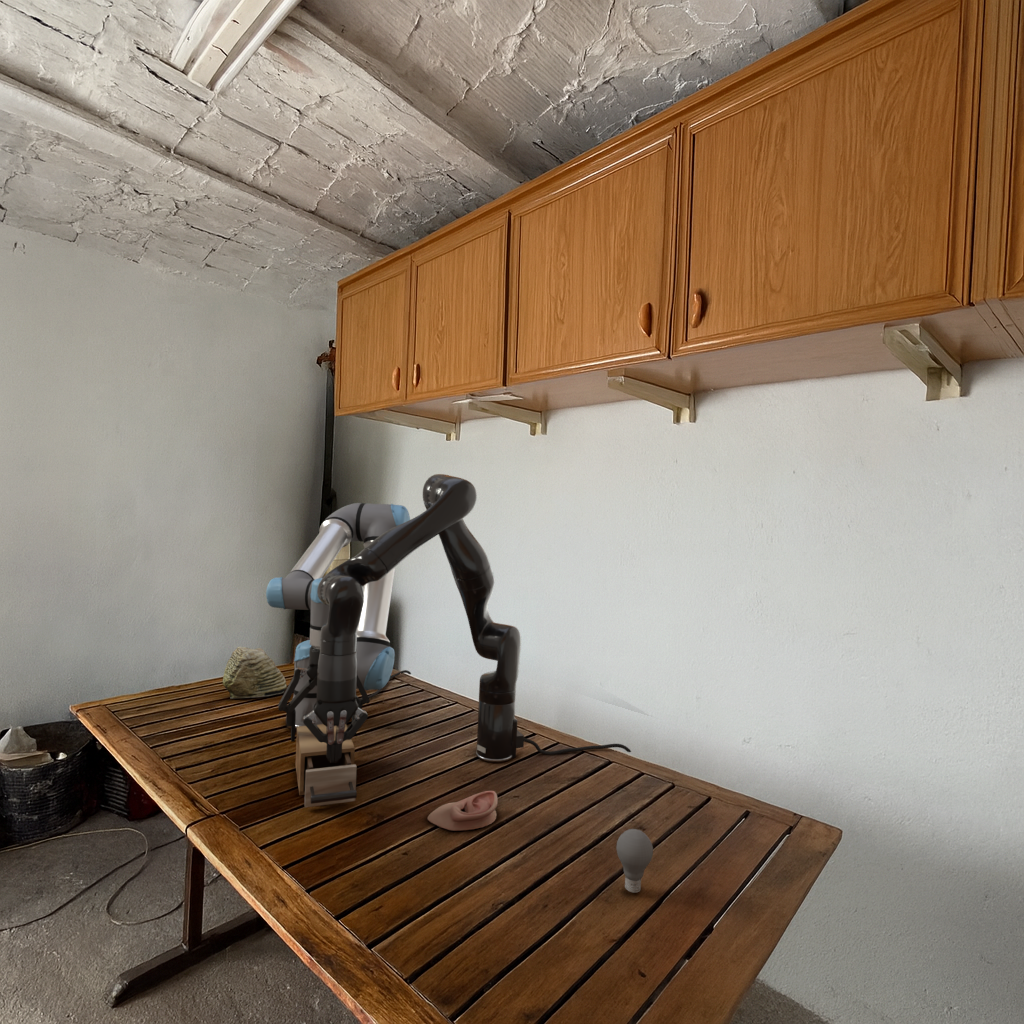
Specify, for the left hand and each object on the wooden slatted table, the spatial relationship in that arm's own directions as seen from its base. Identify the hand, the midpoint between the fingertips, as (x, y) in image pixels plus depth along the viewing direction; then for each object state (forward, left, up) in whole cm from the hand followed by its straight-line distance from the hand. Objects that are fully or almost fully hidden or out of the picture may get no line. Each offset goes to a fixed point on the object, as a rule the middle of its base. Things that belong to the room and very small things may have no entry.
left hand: (323, 736), depth 147 cm
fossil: (-17, -61, -8) cm, 63 cm away
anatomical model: (-6, +39, -8) cm, 40 cm away
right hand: (+11, +20, +3) cm, 23 cm away
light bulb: (-8, +76, -8) cm, 77 cm away
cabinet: (+2, +3, -8) cm, 9 cm away
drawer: (+7, +13, -7) cm, 16 cm away
